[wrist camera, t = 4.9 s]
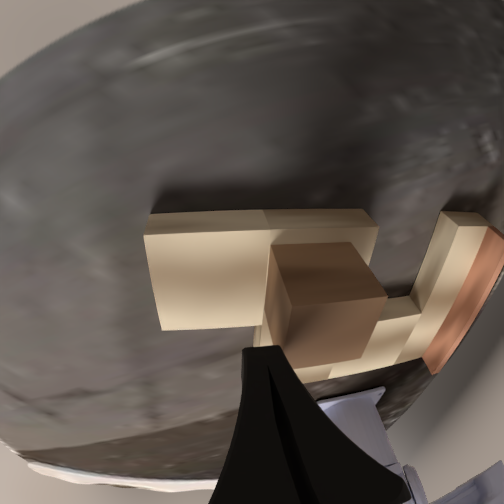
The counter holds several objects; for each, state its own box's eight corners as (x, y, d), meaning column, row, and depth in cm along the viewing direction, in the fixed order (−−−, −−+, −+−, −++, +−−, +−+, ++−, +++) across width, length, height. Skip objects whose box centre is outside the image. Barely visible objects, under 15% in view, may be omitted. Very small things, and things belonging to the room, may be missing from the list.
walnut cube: (334, 303, 17) (360, 358, 14) (264, 309, 16) (279, 371, 13) (350, 241, 15) (388, 296, 11) (270, 244, 14) (292, 306, 11)
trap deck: (419, 339, 25) (438, 372, 21) (178, 371, 22) (179, 418, 18) (477, 212, 17) (513, 243, 14) (149, 214, 14) (135, 262, 11)
